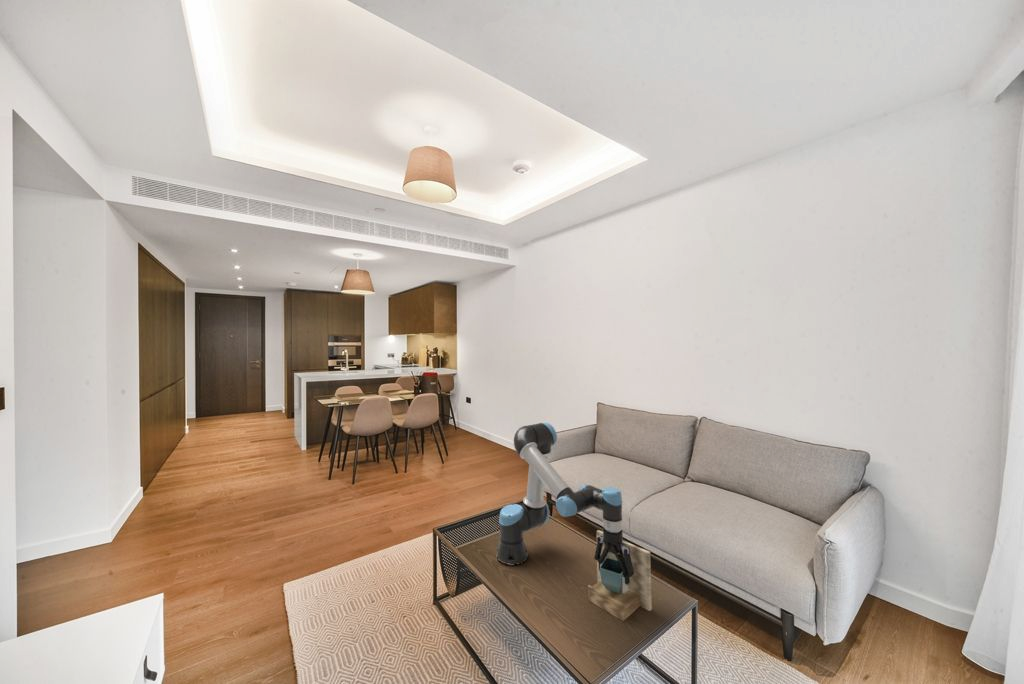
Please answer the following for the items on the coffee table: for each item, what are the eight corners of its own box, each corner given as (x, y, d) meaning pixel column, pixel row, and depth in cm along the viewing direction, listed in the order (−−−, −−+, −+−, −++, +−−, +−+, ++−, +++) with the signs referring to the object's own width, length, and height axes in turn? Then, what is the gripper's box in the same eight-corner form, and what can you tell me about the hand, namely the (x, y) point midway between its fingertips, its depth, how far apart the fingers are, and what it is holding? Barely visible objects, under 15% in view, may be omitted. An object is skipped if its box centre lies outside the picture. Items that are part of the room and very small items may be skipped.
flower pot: (621, 598, 141) (621, 574, 141) (599, 590, 145) (599, 567, 145) (628, 585, 148) (627, 563, 148) (606, 578, 153) (606, 556, 153)
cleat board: (580, 594, 151) (578, 540, 152) (599, 580, 160) (598, 529, 161) (633, 627, 133) (631, 566, 134) (651, 609, 142) (650, 551, 143)
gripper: (584, 522, 153) (585, 576, 152) (632, 542, 136) (634, 603, 136) (595, 516, 158) (596, 569, 157) (643, 535, 141) (644, 594, 141)
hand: (613, 585), depth 147 cm, fingers closed on flower pot, 9 cm apart
